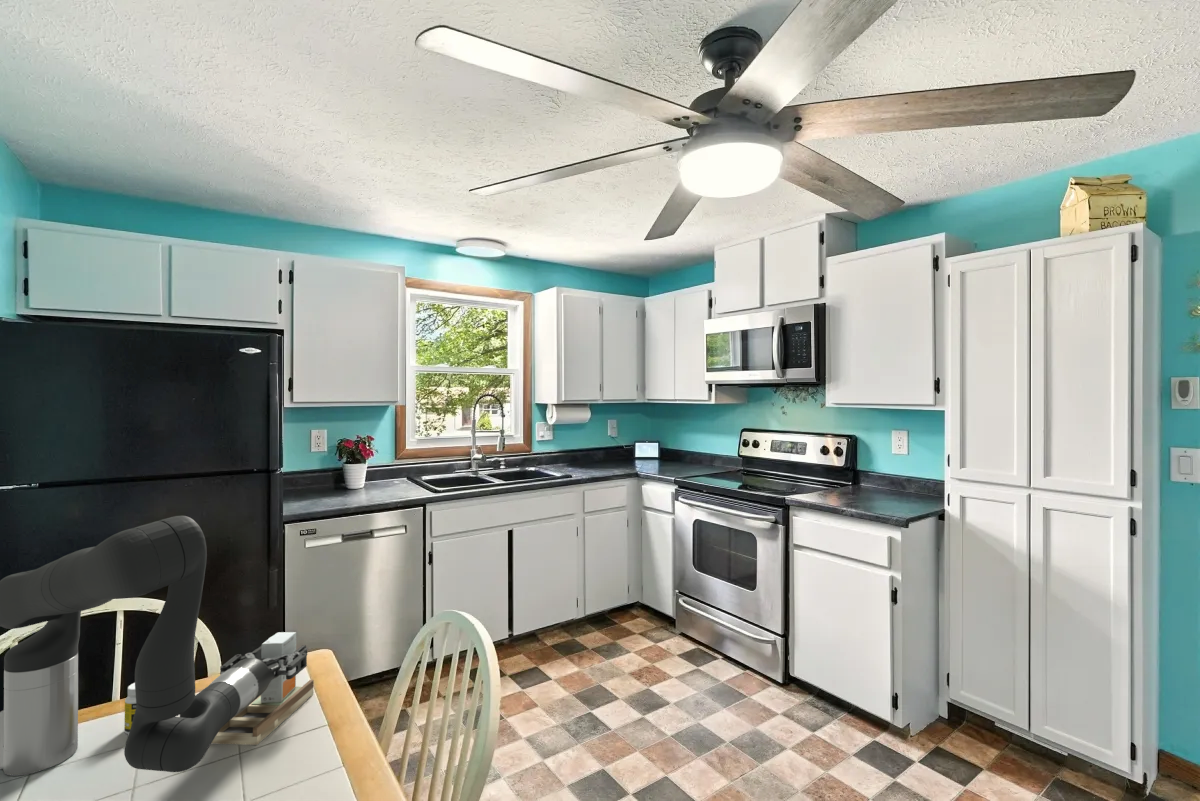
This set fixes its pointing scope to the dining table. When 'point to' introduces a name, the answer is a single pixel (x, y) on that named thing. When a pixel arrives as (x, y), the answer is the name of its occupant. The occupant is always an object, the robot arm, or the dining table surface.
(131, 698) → the supplement bottle
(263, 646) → the skincare box
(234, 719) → the board
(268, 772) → the dining table surface
